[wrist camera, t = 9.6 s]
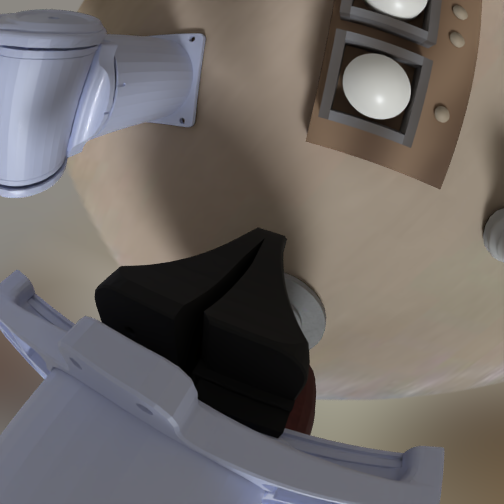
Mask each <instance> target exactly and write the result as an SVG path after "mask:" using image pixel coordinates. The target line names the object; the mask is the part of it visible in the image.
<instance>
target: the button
mask: <svg viewBox="0 0 504 504" xmlns="http://www.w3.org/2000/svg"><path fill="white" fill-rule="evenodd" d="M343 89H344V92H345V95H346V97H347V99H348V101H349V102H350V103H351V105H352V106H353V107H354V108H355V109H356V110H357V111H359V112H360V113H362V114H364V115H365V116H368V117H371V118H374V119H388V118H392V117H395V116H397V115H398V114H400V113H401V112H402V111H403V110H404V109H405V108H406V106H407V104H408V102H409V100H410V95H411V86H410V82H409V79H408V76H407V74H406V73H405V71H404V70H403V68H402V67H401V66H400V65H399V64H398V63H397V62H395V61H394V60H393V59H391V58H389V57H387V56H384V55H381V54H374V53H370V54H364V55H361V56H358V57H356V58H355V59H353V60H352V61H351V62H350V63H349V64H348V66H347V67H346V69H345V71H344V75H343Z"/></svg>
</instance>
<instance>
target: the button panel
mask: <svg viewBox="0 0 504 504" xmlns="http://www.w3.org/2000/svg"><path fill="white" fill-rule="evenodd" d="M481 12H482V0H427V4H426V6H425V8H424V9H423V10H422V11H421V12H420V13H419V15H418V16H417V17H416V18H415V19H413V20H411V21H409V22H403V21H400V20H397V19H394V18H391V17H388V16H385V15H382V14H379V13H376V12H372V11H370V10H369V9H368V8H367V7H366V5H365V4H364V2H363V0H334V6H333V11H332V17H331V22H330V28H329V33H328V38H327V43H326V48H325V53H324V58H323V63H322V68H321V73H320V78H319V83H318V88H317V92H316V97H315V102H314V106H313V111H312V116H311V120H310V125H309V129H308V134H307V138H306V142H310V143H313V144H317V145H320V146H324V147H327V148H330V149H334V150H337V151H340V152H343V153H347V154H350V155H353V156H356V157H359V158H362V159H365V160H368V161H370V162H373V163H376V164H379V165H382V166H384V167H387V168H390V169H392V170H395V171H397V172H400V173H403V174H405V175H408V176H410V177H412V178H415V179H417V180H420V181H422V182H424V183H427V184H429V185H431V186H434V187H436V188H438V189H441V186H442V184H443V181H444V178H445V176H446V173H447V170H448V167H449V165H450V162H451V159H452V156H453V153H454V150H455V147H456V144H457V141H458V137H459V134H460V131H461V127H462V124H463V120H464V116H465V113H466V109H467V105H468V100H469V96H470V92H471V87H472V82H473V77H474V72H475V66H476V60H477V53H478V46H479V37H480V27H481ZM370 53H374V54H381V55H384V56H387V57H389V58H391V59H393V60H394V61H395V62H397V63H398V64H399V65H400V66H401V67H402V68H403V70H404V71H405V73H406V74H407V76H408V79H409V82H410V86H411V95H410V100H409V102H408V104H407V106H406V108H405V109H404V110H403V111H402V112H401V113H400V114H398V115H397V116H395V117H392V118H388V119H374V118H371V117H368V116H365V115H364V114H362V113H360V112H359V111H357V110H356V109H355V108H354V107H353V106H352V105H351V103H350V102H349V101H348V99H347V97H346V95H345V92H344V89H343V75H344V71H345V69H346V67H347V66H348V64H349V63H350V62H351V61H352V60H353V59H355V58H356V57H358V56H361V55H364V54H370Z"/></svg>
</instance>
